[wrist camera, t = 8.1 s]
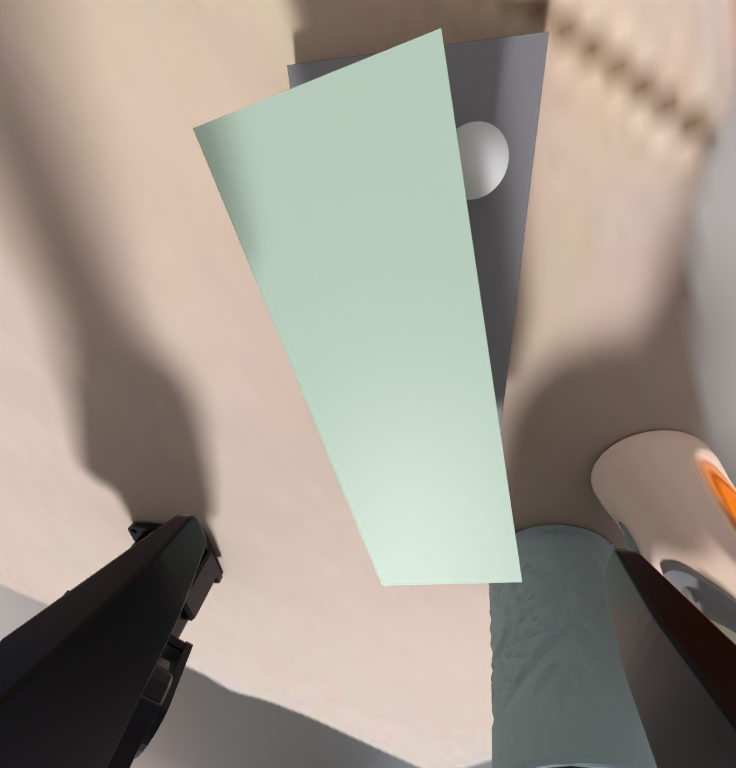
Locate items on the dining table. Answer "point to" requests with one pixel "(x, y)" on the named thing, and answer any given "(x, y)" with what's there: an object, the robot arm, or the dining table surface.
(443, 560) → the plank
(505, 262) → the peg stand
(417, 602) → the dining table surface
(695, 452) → the beer glass
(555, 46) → the dining table surface
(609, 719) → the teal cylinder
